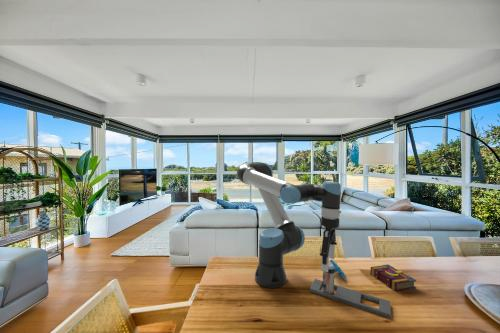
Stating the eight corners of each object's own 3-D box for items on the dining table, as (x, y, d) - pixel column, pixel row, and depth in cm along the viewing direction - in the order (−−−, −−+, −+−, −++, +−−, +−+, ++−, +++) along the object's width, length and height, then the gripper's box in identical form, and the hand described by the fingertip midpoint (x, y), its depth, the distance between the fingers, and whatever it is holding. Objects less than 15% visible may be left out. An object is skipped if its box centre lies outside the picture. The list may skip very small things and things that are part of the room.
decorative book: (395, 292, 95) (396, 281, 95) (368, 273, 111) (368, 264, 111) (416, 289, 98) (416, 278, 97) (386, 271, 113) (386, 262, 113)
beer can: (320, 288, 97) (321, 261, 96) (330, 287, 97) (331, 261, 97) (325, 294, 92) (326, 267, 92) (336, 294, 92) (336, 266, 92)
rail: (309, 291, 94) (309, 288, 94) (315, 281, 102) (315, 278, 102) (390, 318, 79) (391, 314, 79) (389, 304, 86) (390, 301, 86)
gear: (348, 279, 101) (333, 262, 104) (339, 287, 102) (323, 269, 105) (345, 271, 112) (330, 255, 115) (336, 278, 113) (322, 262, 115)
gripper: (334, 226, 81) (331, 280, 82) (343, 212, 102) (341, 255, 103) (314, 222, 85) (311, 274, 86) (327, 210, 106) (325, 251, 107)
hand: (328, 264), depth 95 cm, fingers open, 13 cm apart
